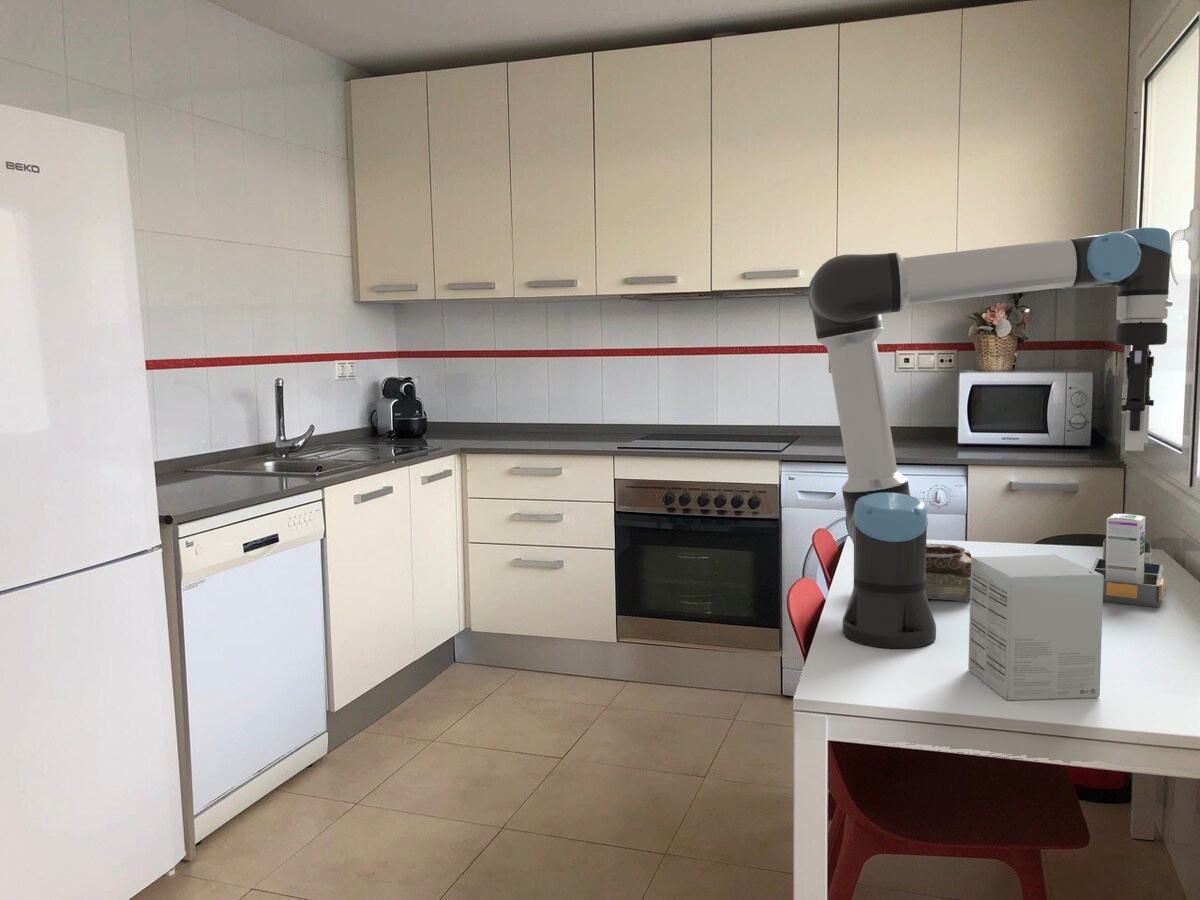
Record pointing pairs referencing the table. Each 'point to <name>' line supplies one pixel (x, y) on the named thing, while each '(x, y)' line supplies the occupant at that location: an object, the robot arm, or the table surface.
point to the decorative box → (948, 572)
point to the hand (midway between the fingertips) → (1136, 446)
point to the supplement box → (1036, 627)
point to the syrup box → (1125, 548)
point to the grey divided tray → (1133, 586)
